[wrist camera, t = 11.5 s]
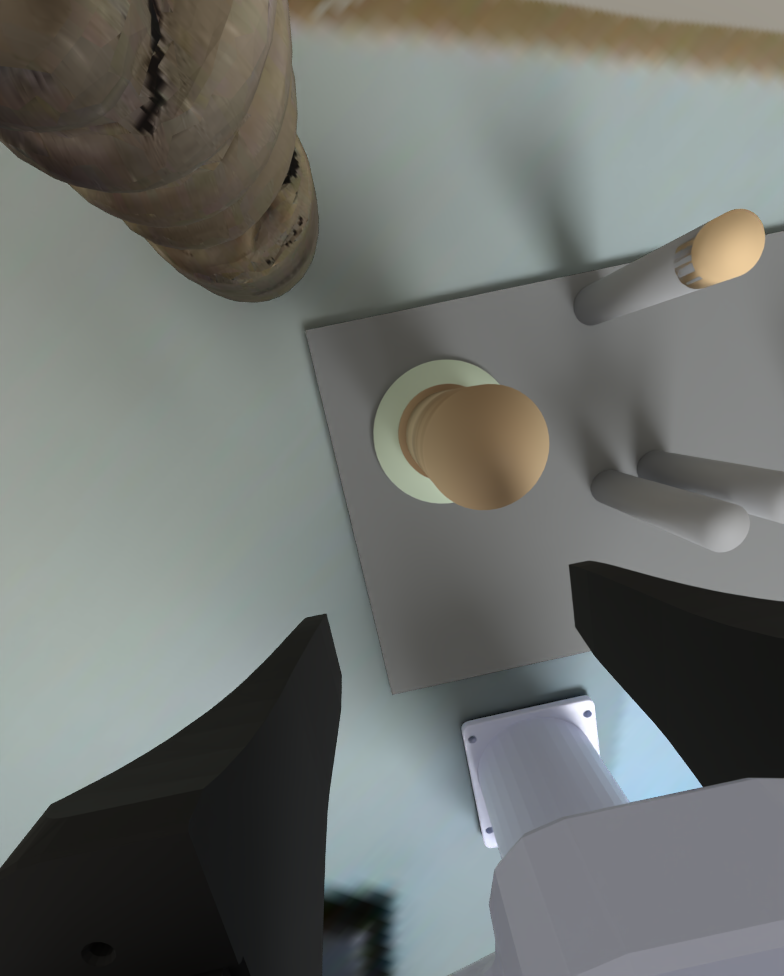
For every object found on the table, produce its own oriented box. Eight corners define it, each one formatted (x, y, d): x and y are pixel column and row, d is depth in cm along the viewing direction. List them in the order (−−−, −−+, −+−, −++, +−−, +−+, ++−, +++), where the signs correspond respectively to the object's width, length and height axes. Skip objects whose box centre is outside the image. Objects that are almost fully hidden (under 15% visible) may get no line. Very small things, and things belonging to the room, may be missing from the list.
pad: (521, 486, 20) (523, 487, 20) (389, 514, 20) (389, 516, 20) (502, 346, 19) (505, 345, 19) (359, 376, 19) (359, 376, 19)
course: (838, 591, 23) (1069, 684, 16) (391, 689, 23) (403, 834, 15) (857, 217, 19) (1190, 91, 11) (306, 331, 19) (263, 282, 11)
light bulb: (272, 166, 17) (-276, -1182, 3) (365, 262, 18) (356, -305, 4) (191, 268, 18) (-617, -341, 3) (285, 356, 19) (0, 198, 4)
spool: (483, 375, 19) (550, 359, 12) (497, 468, 20) (565, 502, 13) (389, 395, 19) (402, 390, 12) (408, 487, 20) (429, 532, 13)
